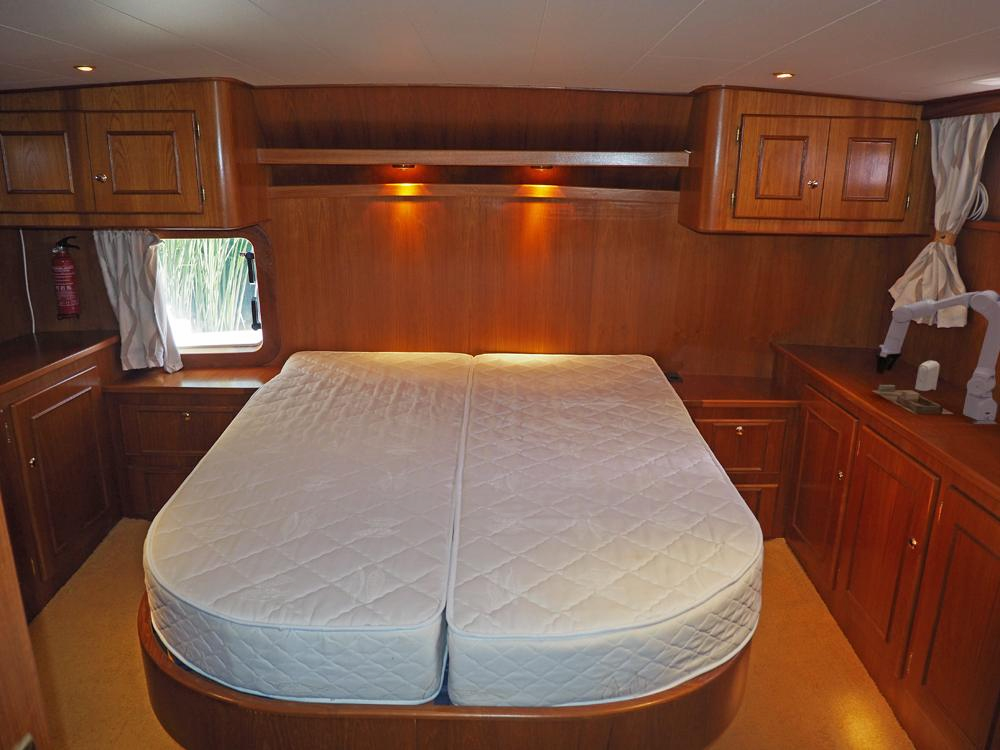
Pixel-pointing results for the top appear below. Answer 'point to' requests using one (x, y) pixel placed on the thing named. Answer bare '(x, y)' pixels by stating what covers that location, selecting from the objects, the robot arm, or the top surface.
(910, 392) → the cube
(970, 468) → the top surface
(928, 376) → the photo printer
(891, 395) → the board
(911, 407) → the cubby
